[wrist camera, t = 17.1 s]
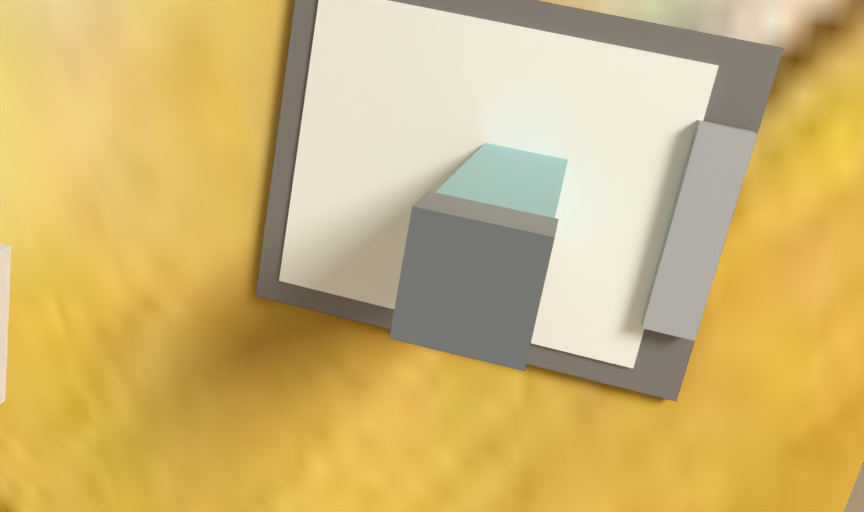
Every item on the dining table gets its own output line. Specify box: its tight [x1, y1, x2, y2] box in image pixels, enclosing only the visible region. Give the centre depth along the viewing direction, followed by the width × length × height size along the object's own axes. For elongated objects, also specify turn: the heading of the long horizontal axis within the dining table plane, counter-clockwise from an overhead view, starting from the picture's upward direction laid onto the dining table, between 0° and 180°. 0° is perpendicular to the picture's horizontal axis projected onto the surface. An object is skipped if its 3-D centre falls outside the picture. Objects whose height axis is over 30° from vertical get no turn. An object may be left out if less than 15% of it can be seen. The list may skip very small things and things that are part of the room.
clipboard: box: [256, 0, 783, 401], centre depth 32 cm, size 18×14×2 cm
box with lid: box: [389, 143, 568, 371], centre depth 26 cm, size 3×3×13 cm
